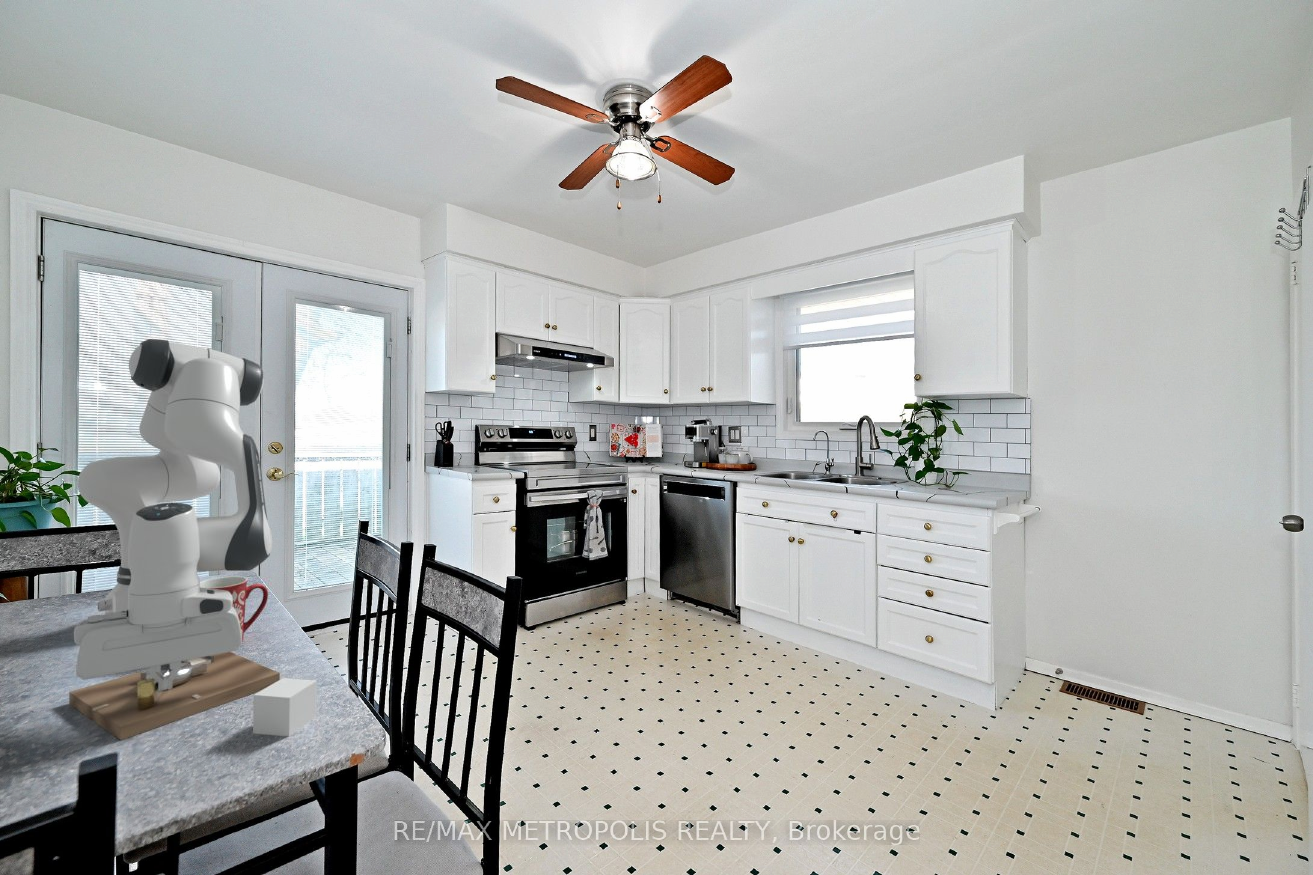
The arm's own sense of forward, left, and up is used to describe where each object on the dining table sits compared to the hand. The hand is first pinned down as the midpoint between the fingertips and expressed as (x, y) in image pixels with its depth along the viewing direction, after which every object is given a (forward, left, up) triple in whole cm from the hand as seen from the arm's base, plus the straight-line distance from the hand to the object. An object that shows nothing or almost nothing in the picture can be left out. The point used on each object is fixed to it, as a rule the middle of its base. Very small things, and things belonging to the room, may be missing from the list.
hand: (165, 689), depth 93 cm
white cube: (+20, +8, -4) cm, 22 cm away
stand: (-6, +4, -4) cm, 8 cm away
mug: (-24, +20, -4) cm, 31 cm away
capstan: (-4, +1, -1) cm, 4 cm away
